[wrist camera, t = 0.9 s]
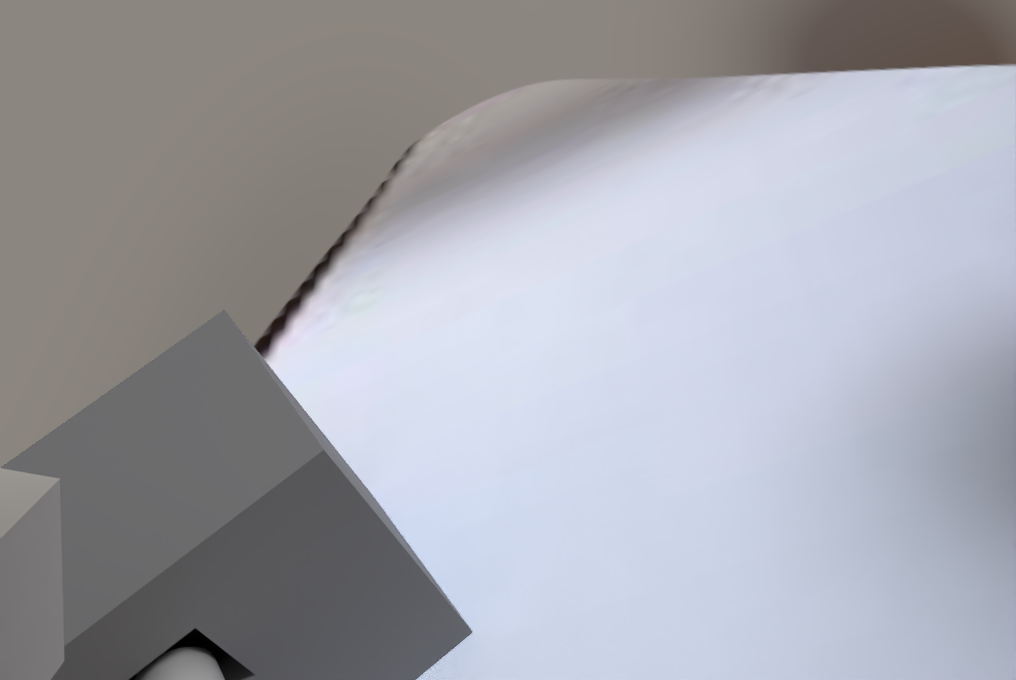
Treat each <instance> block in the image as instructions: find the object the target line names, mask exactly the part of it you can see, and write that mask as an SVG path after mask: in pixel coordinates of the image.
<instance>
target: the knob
mask: <svg viewBox="0 0 1016 680" xmlns="http://www.w3.org/2000/svg"><path fill="white" fill-rule="evenodd" d="M134 680H225V679H224V676H223V674H222V672H221V670H220V668H219V665H218V663H217V661H216V659H215V657H214V655H213V654H212V653H211V652H210V651H208V650H207V649H204V648H201V647H182V648H177V649H174V650H171V651H169V652H166V653H164V654H162V655H160V656H158V657H157V658H156V659H154V660H153V661H152V662H151V663H149V664H148V665H147V666H145V667H144V668H143V669H142V670H141V671H140V672H139V673H138V674H137V676H136V677H135V679H134Z"/></svg>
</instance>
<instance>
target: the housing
mask: <svg viewBox="0 0 1016 680" xmlns="http://www.w3.org/2000/svg"><path fill="white" fill-rule="evenodd" d="M1 468H2V469H8V470H13V471H19V472H25V473H31V474H36V475H42V476H48V477H54V478H59V479H60V498H61V540H62V581H63V622H64V662H63V664H62V665H61V666H60V668H59V669H58V670H57V672H56V673H55V675H54V676H53V677H52V679H51V680H134V679H135V677H136V676H137V674H138V673H139V672H140V671H141V670H142V669H143V668H144V667H145V666H147V665H148V664H149V663H151V662H152V661H153V660H154V659H156V658H157V657H158V656H160V655H162V654H164V653H166V652H169V651H171V650H174V649H177V648H182V647H201V648H204V649H207V650H208V651H210V652H211V653H212V654H213V655H214V657H215V659H216V661H217V663H218V665H219V668H220V670H221V672H222V674H223V676H224V679H225V680H415V679H416V678H418V677H419V676H420V675H421V674H422V673H424V672H425V671H426V670H427V669H429V668H430V667H431V666H432V665H433V664H435V663H436V662H437V661H438V660H439V659H441V658H442V657H443V656H444V655H445V654H447V653H448V652H449V651H450V650H451V649H453V648H454V647H455V646H456V645H457V644H459V643H460V642H461V641H462V640H463V639H465V638H466V637H467V636H468V635H469V634H471V633H472V631H471V629H470V628H469V626H468V625H467V624H466V622H465V621H464V620H463V618H462V617H461V616H460V614H459V613H458V611H457V610H456V609H455V607H454V606H453V605H452V603H451V602H450V601H449V599H448V598H447V596H446V595H445V594H444V592H443V591H442V590H441V588H440V587H439V585H438V584H437V583H436V581H435V580H434V579H433V577H432V576H431V575H430V573H429V572H428V570H427V569H426V568H425V566H424V565H423V564H422V562H421V561H420V560H419V558H418V557H417V555H416V554H415V553H414V551H413V550H412V549H411V547H410V546H409V545H408V543H407V542H406V540H405V539H404V538H403V536H402V535H401V534H400V532H399V531H398V530H397V528H396V527H395V525H394V524H393V523H392V521H391V520H390V519H389V517H388V516H387V515H386V513H385V512H384V510H383V509H382V508H381V506H380V505H379V504H378V502H377V501H376V499H375V498H374V497H373V495H372V494H371V493H370V492H369V490H368V489H367V488H366V487H365V485H364V484H363V483H362V482H361V480H360V479H359V478H358V477H357V475H356V474H355V473H354V472H353V470H352V469H351V468H350V467H349V465H348V464H347V463H346V462H345V460H344V459H343V458H342V457H341V455H340V454H339V453H338V452H337V450H336V449H335V448H334V446H333V445H332V444H331V443H330V441H329V440H328V439H327V438H326V436H325V435H324V434H323V433H322V431H321V430H320V429H319V428H318V426H317V425H316V424H315V423H314V421H313V420H312V419H311V418H310V416H309V415H308V414H307V413H306V411H305V410H304V409H303V408H302V406H301V405H300V404H299V403H298V401H297V400H296V399H295V398H294V396H293V395H292V394H291V393H290V391H289V390H288V389H287V388H286V386H285V385H284V384H283V383H282V381H281V380H280V379H279V378H278V376H277V375H276V374H275V373H274V371H273V370H272V369H271V368H270V366H269V365H268V364H267V363H266V361H265V360H264V359H263V358H262V356H261V355H260V354H259V353H258V351H257V350H256V349H255V348H254V346H253V345H252V344H251V343H250V342H249V340H248V339H247V338H246V337H245V335H244V334H243V333H242V331H241V330H240V329H239V328H238V326H237V325H236V324H235V323H234V322H233V320H232V319H231V318H230V317H229V315H228V314H227V313H226V311H225V310H223V311H222V312H220V313H219V314H218V315H216V316H215V317H213V318H212V319H211V320H209V321H208V322H206V323H205V324H204V325H202V326H201V327H199V328H198V329H196V330H195V331H193V332H192V333H191V334H189V335H188V336H186V337H185V338H184V339H182V340H181V341H179V342H178V343H176V344H175V345H174V346H172V347H171V348H169V349H168V350H167V351H165V352H164V353H162V354H161V355H160V356H158V357H157V358H155V359H154V360H152V361H151V362H150V363H148V364H147V365H145V366H144V367H143V368H141V369H140V370H138V371H137V372H135V373H134V374H133V375H131V376H130V377H129V378H127V379H125V380H124V381H123V382H121V383H120V384H118V385H117V386H116V387H114V388H113V389H111V390H110V391H108V392H107V393H106V394H104V395H103V396H101V397H100V398H99V399H97V400H96V401H94V402H93V403H91V404H90V405H89V406H87V407H86V408H84V409H83V410H82V411H80V412H79V413H77V414H76V415H75V416H73V417H72V418H71V419H69V420H68V421H66V422H65V423H63V424H62V425H60V426H59V427H57V428H56V429H55V430H53V431H52V432H50V433H49V434H48V435H46V436H45V437H43V438H42V439H41V440H39V441H38V442H36V443H35V444H33V445H32V446H31V447H29V448H28V449H26V450H25V451H23V452H22V453H21V454H19V455H18V456H16V457H15V458H14V459H12V460H11V461H9V462H8V463H7V464H5V465H4V466H2V467H1Z"/></svg>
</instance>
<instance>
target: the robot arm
mask: <svg viewBox="0 0 1016 680" xmlns="http://www.w3.org/2000/svg"><path fill="white" fill-rule="evenodd" d="M63 662H64V622H63V581H62V540H61V498H60V479H59V478H54V477H48V476H42V475H36V474H31V473H25V472H19V471H13V470H8V469H2V468H0V680H51V679H52V677H53V676H54V675H55V673H56V672H57V670H58V669H59V668H60V666H61V665H62V664H63Z"/></svg>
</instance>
